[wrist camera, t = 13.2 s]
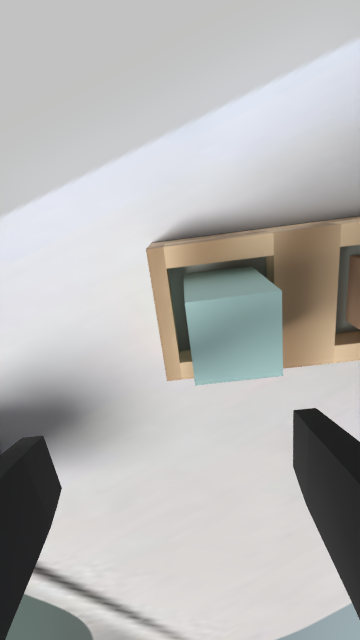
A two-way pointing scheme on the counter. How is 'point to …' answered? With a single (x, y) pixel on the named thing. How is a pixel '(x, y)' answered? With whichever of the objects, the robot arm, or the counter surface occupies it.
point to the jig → (279, 268)
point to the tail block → (233, 325)
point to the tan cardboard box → (353, 292)
